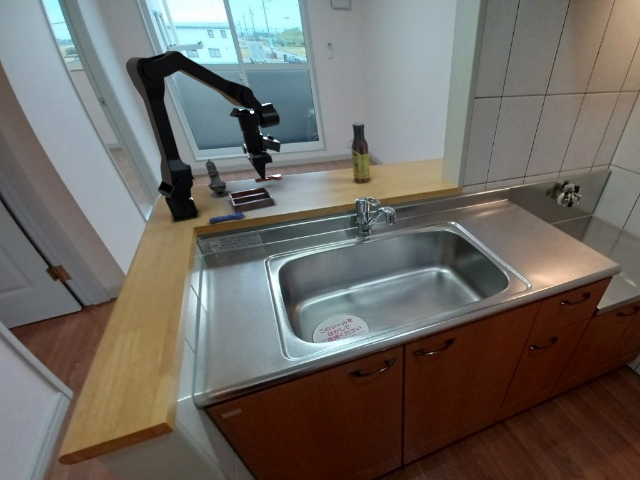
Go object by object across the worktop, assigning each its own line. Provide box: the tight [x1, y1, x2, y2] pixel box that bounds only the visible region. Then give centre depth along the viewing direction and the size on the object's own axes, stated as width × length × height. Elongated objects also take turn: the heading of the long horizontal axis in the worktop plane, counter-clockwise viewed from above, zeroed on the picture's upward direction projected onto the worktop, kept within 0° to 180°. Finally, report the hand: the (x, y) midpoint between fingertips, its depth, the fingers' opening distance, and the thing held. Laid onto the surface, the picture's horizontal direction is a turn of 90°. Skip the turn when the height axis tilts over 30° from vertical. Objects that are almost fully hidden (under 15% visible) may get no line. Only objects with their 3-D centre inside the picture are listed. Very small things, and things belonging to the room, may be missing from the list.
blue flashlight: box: [208, 211, 244, 224], centre depth 98 cm, size 10×3×2 cm, turn 121°
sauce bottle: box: [350, 122, 371, 184], centre depth 119 cm, size 7×6×20 cm
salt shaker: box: [205, 158, 230, 198], centre depth 112 cm, size 6×6×12 cm
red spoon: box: [254, 173, 283, 184], centre depth 118 cm, size 10×3×2 cm, turn 121°
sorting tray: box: [227, 186, 275, 213], centre depth 109 cm, size 12×12×2 cm
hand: (263, 178), depth 117 cm, fingers closed on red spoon, 1 cm apart
